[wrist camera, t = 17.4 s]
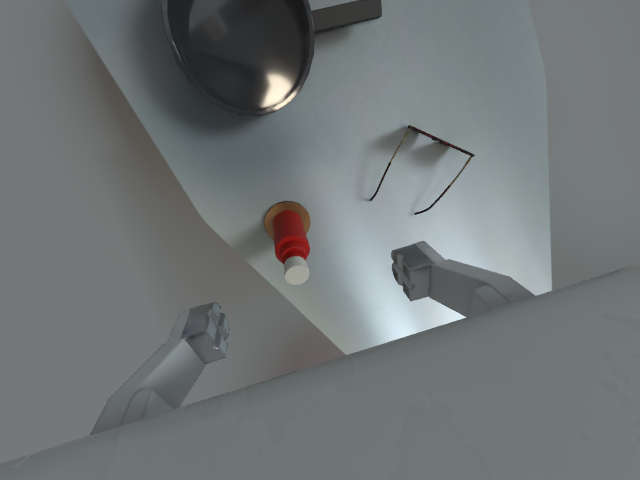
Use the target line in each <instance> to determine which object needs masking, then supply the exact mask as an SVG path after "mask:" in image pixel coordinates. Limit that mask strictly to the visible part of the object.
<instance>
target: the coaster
mask: <svg viewBox="0 0 640 480" xmlns="http://www.w3.org/2000/svg"><path fill="white" fill-rule="evenodd" d="M286 210H290V211H294V212H296V213H297V214H298V215H299V216H300V217H301V220H302V223H303V226H304V230H305V233H306V234H307V232H308V230H309V228H310V217H309V214H308V212H307V210H306V209H305V208H304V207H303V206H302V205H300V204H298V203H296V202H292V201H284V202H280V203H277V204H275V205H274V206H272V207H271V208H270V209H269V210H268V212H267V213H266V216H265V220H264V226H265V230H266V232H267V234H268V235H269V236H270V237H271V238H272V239H274V229H273V221H274V218H275V217H276V215H277V214H278V213H280V212H282V211H286Z"/></svg>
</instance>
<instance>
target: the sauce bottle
mask: <svg viewBox="0 0 640 480" xmlns="http://www.w3.org/2000/svg"><path fill="white" fill-rule="evenodd" d="M273 229H274V244H275V254H276V257H277V258H278V260H279V261H281V262H282V263H283V264H284V273H285V279H286V281H287V282H288V283H290V284H292V285H300V284H302V283H304V282H305V281H307V279H308V277H309V270H308V266H307V263H306V258H307V256H308V255H309V252H310V247H309V243H308V240H307V236H306V233H305V230H304V226H303V223H302V220H301V217H300V216H299V215H298V214H297V213H296V212H294V211H290V210H286V211H282V212H280V213H278V214H277V215H276V217H275V218H274V221H273Z"/></svg>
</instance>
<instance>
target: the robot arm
mask: <svg viewBox="0 0 640 480" xmlns="http://www.w3.org/2000/svg"><path fill="white" fill-rule="evenodd" d="M391 258H392V259H393V260H394V263H393V264H392V271H393V275H394V277H395V279H396V281H397V283H398V284H399V285H402V286H403V291H404V293H405V294H406V295H407V297H408V298H409V299H410V301H413V300H417V299H421V298H424V297H428V296H429V297H430V298H432V299H434V300H435V301H437V302H439V303H441V304H443V305H445V306H447V307H449V308H450V309H452V310H454V311H456V312H458V313H460V314H462V315H463V316H465V317H467V318H464V319H461V320H458V321H454V322H451V323H448V324H445V325H442V326H438V327H435V328H432V329H429V330H426V331H422V332H419V333H416V334H413V335H410V336H406V337H403V338H400V339H397V340H394V341H390V342H387V343H384V344H381V345H378V346H374V347H371V348H368V349H365V350H362V351H358V352H355V353H352V354H349V355H346V356H342V357H339V358H336V359H333V360H330V361H327V362H323V363H320V364H317V365H314V366H311V367H307V368H305V369H301V370H298V371H295V372H291V373H288V374H285V375H282V376H279V377H276V378H272V379H269V380H266V381H263V382H259V383H256V384H253V385H250V386H247V387H244V388H240V389H237V390H234V391H231V392H227V393H225V394H221V395H218V396H215V397H212V398H208V399H205V400H202V401H199V402H196V403H192V404H189V405H186V406H183V407H180V405H181V404H182V402H183V401H184V399H185V398H186V396H187V394H188V393H189V391H190V390H191V388H192V387H193V385H194V383H195V382H196V380H197V379H198V377H199V376H200V374H201V372H202V371H203V369H204V368H205V366H206V364H208V363H211V362H214V361H217V360H220V359H223V358H226V352H227V345H228V343H227V342H226V338H227V337H228V336H229V332H230V326H229V321H228V318H227V317H226V315H225V314H223V313H221V312H220V309H221V307H220V305H219V304H218V303H217V302H213V303H209V304H206V305H202V306H198V307H194V308H191V309H188V310H184V311H181V312H180V313H179V314H178V317H177V319H176V322H175V324H174V327H173V329H172V332H171V334H170V337H169V339H168V342H167V343H165V344H163V345H162V346H161V347H160V348H159V349H158V350H157V351H156V352H155V353H154V354H153V355H152V356H151V357H150V358H149V359H148V360H147V361H146V362H145V363H144V364H143V365H142V366H141V367H140V368H139V369H138V370H137V371H136V372H135V373H134V374H133V375H132V376H131V377H130V378H129V379H128V380H127V381H126V382H125V383H124V384H123V385H122V386H121V387H120V388H119V389H118V390H117V391H116V392H115V393H114V394H113V395H112V396H111V397H110V398H109V399H108V401H107V403H106V405H105V407H104V409H103V411H102V413H101V415H100V417H99V418H98V420H97V422H96V424H95V426H94V428H93V430H92V432H91V434H90V436H87V437H84V438H81V439H77V440H74V441H71V442H68V443H65V444H62V445H58V446H55V447H52V448H49V449H46V450H42V451H39V452H36V453H33V454H30V455H26V456H24V457H20V458H17V459H14V460H11V461H7V462H4V463H1V464H0V480H640V265H636V266H631V267H627V268H623V269H620V270H617V271H614V272H610V273H608V274H604V275H601V276H598V277H595V278H591V279H588V280H585V281H582V282H579V283H576V284H573V285H569V286H566V287H563V288H560V289H556V290H553V291H550V292H547V293H544V294H541V295H537V296H535V295H534V294H532V293H531V292H530V291H528V290H527V289H525V288H524V287H523V286H521V285H520V284H519V283H517V282H516V281H515V280H513V279H512V278H511V277H509V276H505V275H502V274H498V273H495V272H491V271H488V270H484V269H481V268H478V267H474V266H471V265H467V264H464V263H460V262H457V261H453V260H450V259H448V260H445V259H444V258H443V257H442V256H441V255H439V254H438V253H437V252H436V251H435V250H434V249H433V248H432V247H431V246H429V245H428V244H427V243H426V242H425V241H421V242H418V243H415V244H412V245H409V246H406V247H402V248H399V249H396V250H392V252H391ZM179 407H180V408H179Z"/></svg>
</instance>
